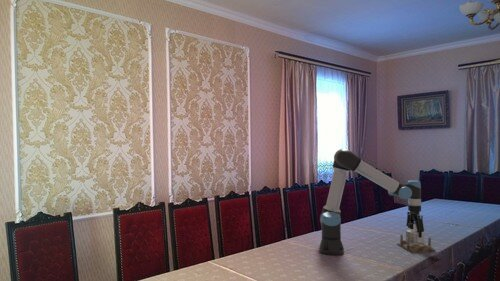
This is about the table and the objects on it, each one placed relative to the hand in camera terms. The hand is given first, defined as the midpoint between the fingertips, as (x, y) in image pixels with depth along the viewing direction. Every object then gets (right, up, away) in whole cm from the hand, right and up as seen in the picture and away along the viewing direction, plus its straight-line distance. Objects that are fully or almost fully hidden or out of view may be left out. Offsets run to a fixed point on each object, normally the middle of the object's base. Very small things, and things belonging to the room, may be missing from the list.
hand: (415, 240), depth 220 cm
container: (0, -2, 0) cm, 2 cm away
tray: (0, -5, 0) cm, 5 cm away
